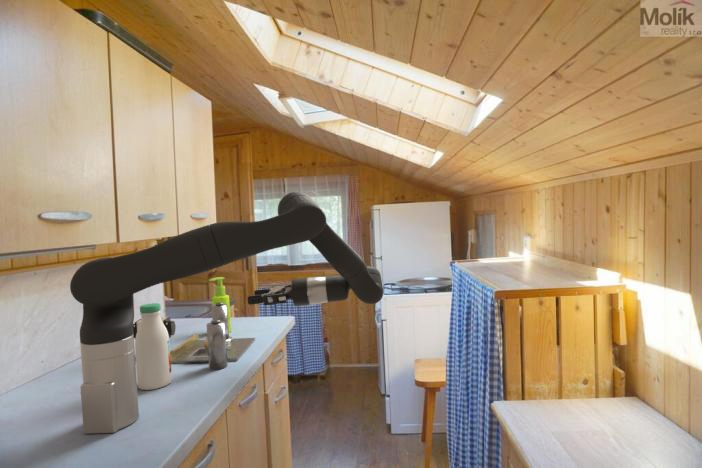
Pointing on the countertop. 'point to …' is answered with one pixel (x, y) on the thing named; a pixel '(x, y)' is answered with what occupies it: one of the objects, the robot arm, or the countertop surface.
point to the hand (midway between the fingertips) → (251, 297)
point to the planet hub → (217, 344)
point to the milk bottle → (152, 350)
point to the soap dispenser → (221, 297)
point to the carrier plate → (230, 347)
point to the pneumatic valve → (166, 321)
